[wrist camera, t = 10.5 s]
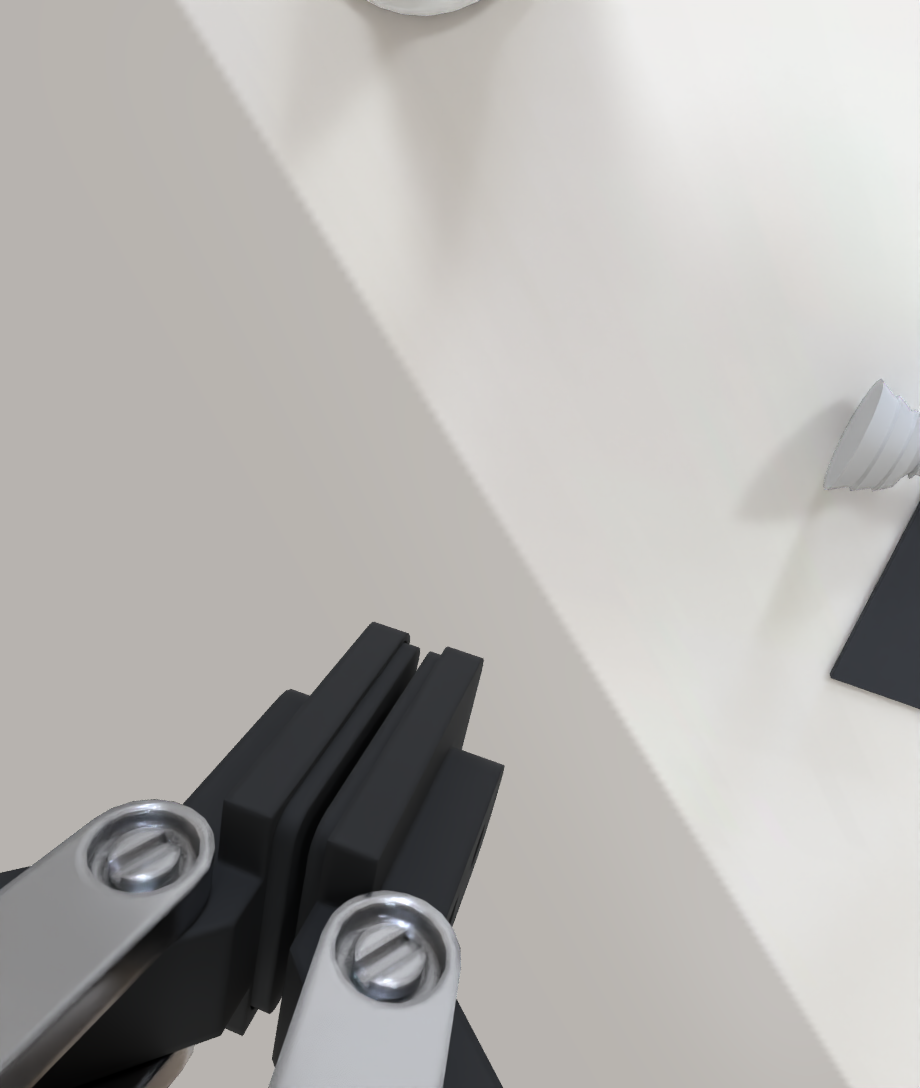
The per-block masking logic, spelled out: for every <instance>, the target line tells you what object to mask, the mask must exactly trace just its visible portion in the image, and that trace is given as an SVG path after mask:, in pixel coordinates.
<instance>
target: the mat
mask: <svg viewBox="0 0 920 1088" xmlns="http://www.w3.org/2000/svg"><path fill="white" fill-rule="evenodd" d="M830 676H831V678H833V679H836V680H839V681H841V682H844V683H847V684H850V685H853V686H856V687H859V688H861V689H864V690H867V691H870V692H873V693H876V694H879V695H881V696H884V697H887V698H890V699H893V700H896V701H899V702H901V703H904V704H907V705H910V706H913V707H916V708H919V709H920V502H919V504H918V506H917V508H916V510H915V512H914V514H913V516H912V518H911V520H910V522H909V523H908V525H907V527H906V529H905V531H904V533H903V535H902V537H901V539H900V541H899V543H898V545H897V546H896V548H895V550H894V552H893V554H892V556H891V558H890V560H889V562H888V564H887V566H886V568H885V569H884V571H883V573H882V575H881V577H880V579H879V581H878V583H877V585H876V587H875V589H874V591H873V592H872V594H871V596H870V598H869V600H868V602H867V604H866V606H865V608H864V610H863V612H862V614H861V615H860V617H859V619H858V621H857V623H856V625H855V627H854V629H853V631H852V633H851V635H850V637H849V638H848V640H847V642H846V644H845V646H844V648H843V650H842V652H841V654H840V656H839V658H838V660H837V661H836V663H835V665H834V667H833V669H832V671H831V673H830Z"/></svg>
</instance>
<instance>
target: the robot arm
mask: <svg viewBox="0 0 920 1088" xmlns="http://www.w3.org/2000/svg"><path fill="white" fill-rule="evenodd" d="M367 1H369V2H371V3H372V4H374V5H376V6H378V7H380V8H383V9H387V10H390V11H393V12H397V13H400V14H403V15H422V16H431V15H437V14H442V13H448V12H453V11H457V10H459V9H461V8H464V7H466V6H468V5H471V4H473V3H475V2H478V1H480V0H367ZM409 643H410V635H409V633H406V632H403V631H400V630H397V629H394V628H391V627H388V626H385V625H382V624H379V623H376V622H372V623H371V624H370V625H369V626H368V627H367V628H366V629H365V631H364V632H363V633H362V634H361V635H360V637H359V638H358V639H357V640H356V642H355V643H354V644H353V645H352V646H351V647H350V649H349V650H348V651H347V652H346V653H345V655H344V656H343V657H342V658H341V659H340V661H339V662H338V663H337V664H336V665H335V667H334V668H333V669H332V670H331V671H330V673H329V674H328V675H327V676H326V677H325V678H324V680H323V681H322V682H321V683H320V685H319V686H318V687H317V688H316V689H315V691H314V692H313V693H312V694H311V695H310V696H309V695H306V694H304V693H301V692H298V691H295V690H292V689H290V690H286V691H285V692H284V693H283V694H282V695H281V696H280V697H279V698H278V699H277V700H276V701H275V702H274V703H273V704H272V705H271V707H270V708H269V709H268V710H267V711H266V712H265V713H264V715H262V717H261V718H260V719H259V720H258V721H257V722H256V723H255V724H254V726H253V727H252V728H251V729H250V730H249V731H248V732H247V733H246V734H245V735H244V737H243V738H242V739H241V740H240V741H239V742H238V743H237V745H236V746H235V747H234V748H233V749H232V750H231V751H230V752H229V753H228V755H227V756H226V757H225V758H224V759H223V760H222V761H221V762H220V763H219V765H218V766H217V767H216V768H215V769H214V770H213V771H212V772H211V774H210V775H209V776H208V777H207V778H206V779H205V780H204V781H203V782H202V784H201V785H200V786H199V787H198V788H197V789H196V790H195V791H194V792H193V794H192V795H191V796H190V797H189V798H188V799H187V800H186V801H185V802H184V803H183V805H182V804H180V803H177V802H174V801H166V800H158V799H151V800H140V801H132V802H129V803H126V804H123V805H120V806H117V807H113V808H111V809H109V810H108V811H106V812H104V813H103V814H101V815H99V816H97V817H96V818H94V819H93V820H91V821H90V822H89V823H87V824H86V825H85V826H83V827H82V828H81V829H79V830H78V831H77V832H76V833H74V834H73V835H72V836H70V837H69V838H68V839H66V840H65V841H64V842H62V843H61V844H60V845H58V846H57V847H56V848H54V849H53V850H52V851H50V852H49V853H48V854H46V855H45V856H44V857H43V858H41V859H40V860H38V861H37V862H36V863H34V864H33V865H32V866H30V867H25V868H20V869H16V870H11V871H7V872H2V873H0V1088H168V1087H169V1086H170V1085H171V1083H172V1082H173V1081H174V1080H175V1078H176V1077H177V1076H178V1075H179V1074H180V1072H181V1071H182V1070H183V1068H184V1066H185V1065H186V1063H187V1061H188V1060H189V1058H190V1056H191V1055H192V1053H193V1050H194V1046H195V1044H198V1043H201V1042H204V1041H207V1040H209V1039H212V1038H215V1037H218V1036H220V1035H221V1034H222V1032H223V1031H224V1029H225V1028H226V1029H228V1030H230V1031H233V1032H235V1033H237V1034H239V1035H242V1036H243V1035H244V1033H245V1031H246V1029H247V1028H248V1026H249V1024H250V1022H251V1021H252V1019H253V1017H254V1015H255V1014H256V1012H257V1010H258V1009H260V1010H262V1011H264V1012H266V1013H269V1014H270V1013H271V1012H273V1010H274V1009H275V1008H276V1006H277V1004H278V1003H279V1001H280V999H281V997H282V1001H281V1006H280V1013H279V1019H278V1025H277V1031H276V1038H275V1044H274V1050H273V1057H272V1060H273V1063H274V1066H275V1070H274V1072H273V1075H272V1078H271V1081H270V1084H269V1087H268V1088H503V1087H502V1085H501V1083H500V1081H499V1079H498V1077H497V1075H496V1073H495V1072H494V1070H493V1068H492V1066H491V1064H490V1062H489V1060H488V1058H487V1056H486V1054H485V1053H484V1051H483V1049H482V1047H481V1045H480V1043H479V1041H478V1039H477V1037H476V1035H475V1033H474V1032H473V1030H472V1028H471V1026H470V1024H469V1022H468V1020H467V1018H466V1016H465V1014H464V1012H463V1011H462V1009H461V1007H460V1005H459V1003H458V1001H457V999H456V997H457V990H458V983H459V977H460V970H461V957H460V956H461V955H460V946H459V943H458V940H457V938H456V935H455V932H454V930H453V928H452V926H453V923H454V921H455V918H456V915H457V912H458V909H459V907H460V904H461V901H462V899H463V896H464V893H465V890H466V888H467V885H468V882H469V879H470V877H471V874H472V871H473V868H474V865H475V863H476V860H477V857H478V854H479V851H480V848H481V845H482V842H483V839H484V836H485V833H486V829H487V826H488V823H489V820H490V817H491V813H492V810H493V806H494V803H495V800H496V796H497V793H498V789H499V786H500V782H501V778H502V775H503V771H504V765H502V764H499V763H496V762H494V761H491V760H488V759H485V758H482V757H480V756H477V755H474V754H471V753H468V752H466V751H463V750H462V746H463V742H464V738H465V734H466V730H467V727H468V723H469V719H470V715H471V711H472V707H473V703H474V699H475V695H476V691H477V687H478V683H479V680H480V675H481V672H482V667H483V661H484V660H483V658H480V657H477V656H474V655H471V654H468V653H465V652H462V651H459V650H456V649H453V648H450V647H446V648H445V650H444V651H443V653H442V654H441V655H439V654H437V653H434V652H429V653H428V654H427V656H426V657H425V659H424V660H423V662H422V663H421V665H420V666H419V668H418V670H417V665H418V661H419V655H420V648H419V647H416V646H413V645H410V644H409ZM416 670H417V671H416Z"/></svg>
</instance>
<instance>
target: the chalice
mask: <svg viewBox="0 0 920 1088" xmlns="http://www.w3.org/2000/svg"><path fill="white" fill-rule="evenodd" d="M907 474H908V478H909V479H910V478H912V477H913V476H914V475H918V476H920V415H919V413H918V411H917V410H913V411H912V410H911V409H910V407H909V406H908V405H907V403H906V402H905V401H904V399H903V398H902V397H901V396H900V395H899V396H897V397H896V396H895V395H894V394H893V392H892V391H891V390H890V388H889V387H888V386H887V384H886V383H885V382H884V380H882V379H880V380H878V381H877V382H876V383H875V384H874V385H873V386H872V388H871V389H870V390H869V391H868V393H867V394H866V396H865V397H864V399H863V400H862V401H861V403H860V405H859V406H858V408H857V410H856V411H855V413H854V415H853V416H852V418H851V420H850V422H849V424H848V425H847V427H846V429H845V431H844V433H843V435H842V437H841V439H840V441H839V443H838V445H837V447H836V450H835V452H834V454H833V457H832V459H831V462H830V464H829V467H828V470H827V473H826V476H825V480H824V490H829V489H837V488H845V487H849V489H850V491H852V490H860V489H868V488H871V490H872V491H876V490H881V489H885V488H890V487H892V486H894V485H895V484H896V483H897V482H898V481H899V480H900V478H902V477H904V476H905V475H907Z"/></svg>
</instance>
